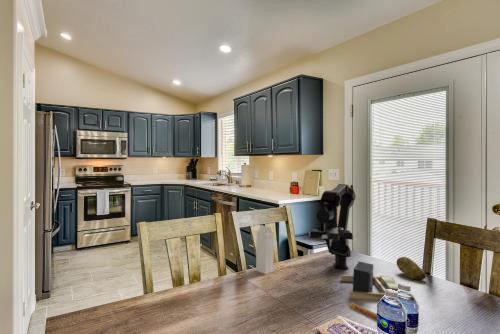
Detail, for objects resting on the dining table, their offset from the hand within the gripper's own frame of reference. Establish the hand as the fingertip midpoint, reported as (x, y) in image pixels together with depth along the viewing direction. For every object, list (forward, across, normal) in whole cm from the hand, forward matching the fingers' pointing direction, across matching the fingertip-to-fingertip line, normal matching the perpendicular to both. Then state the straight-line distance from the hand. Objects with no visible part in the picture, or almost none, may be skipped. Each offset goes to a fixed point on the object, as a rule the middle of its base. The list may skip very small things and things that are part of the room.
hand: (329, 252), depth 133 cm
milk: (+12, -30, +5) cm, 33 cm away
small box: (+12, +12, -11) cm, 20 cm away
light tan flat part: (+12, +16, -10) cm, 22 cm away
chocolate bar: (+13, +8, -29) cm, 33 cm away
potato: (+12, +38, +7) cm, 41 cm away
